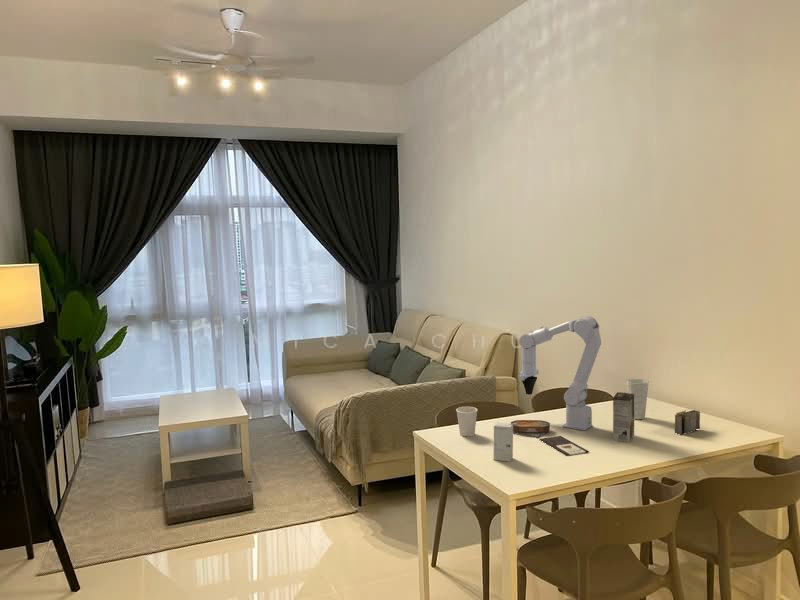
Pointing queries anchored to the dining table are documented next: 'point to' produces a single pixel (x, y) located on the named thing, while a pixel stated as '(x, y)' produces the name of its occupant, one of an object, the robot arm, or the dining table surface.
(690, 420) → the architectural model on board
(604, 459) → the dining table surface
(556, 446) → the chocolate bar
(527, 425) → the tin
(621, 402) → the coffee box
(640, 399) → the cup
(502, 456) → the skincare box
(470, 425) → the dixie cup
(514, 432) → the mat
